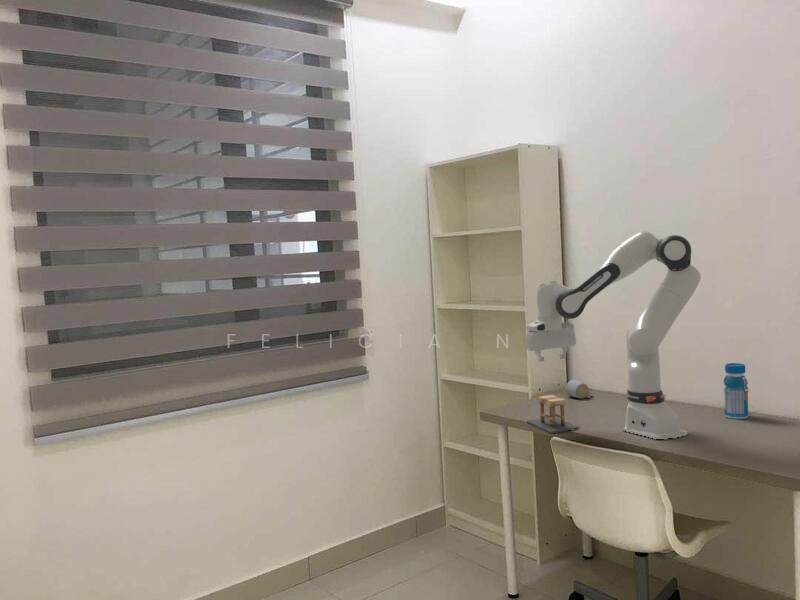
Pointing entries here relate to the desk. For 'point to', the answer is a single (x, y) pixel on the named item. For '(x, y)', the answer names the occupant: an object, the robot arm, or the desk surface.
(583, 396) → the ceramic mug
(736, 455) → the desk surface
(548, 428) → the charcoal mat
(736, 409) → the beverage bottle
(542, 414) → the oak stool
